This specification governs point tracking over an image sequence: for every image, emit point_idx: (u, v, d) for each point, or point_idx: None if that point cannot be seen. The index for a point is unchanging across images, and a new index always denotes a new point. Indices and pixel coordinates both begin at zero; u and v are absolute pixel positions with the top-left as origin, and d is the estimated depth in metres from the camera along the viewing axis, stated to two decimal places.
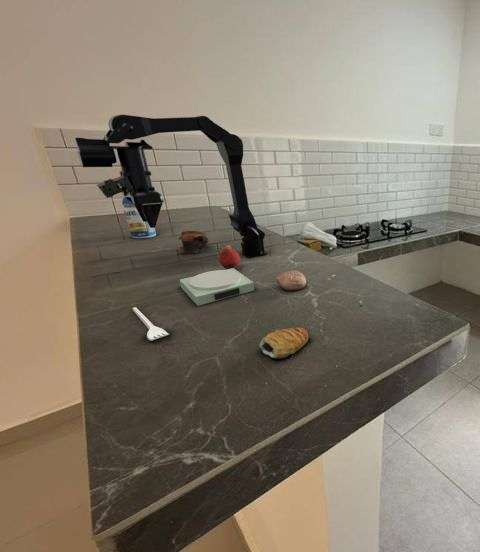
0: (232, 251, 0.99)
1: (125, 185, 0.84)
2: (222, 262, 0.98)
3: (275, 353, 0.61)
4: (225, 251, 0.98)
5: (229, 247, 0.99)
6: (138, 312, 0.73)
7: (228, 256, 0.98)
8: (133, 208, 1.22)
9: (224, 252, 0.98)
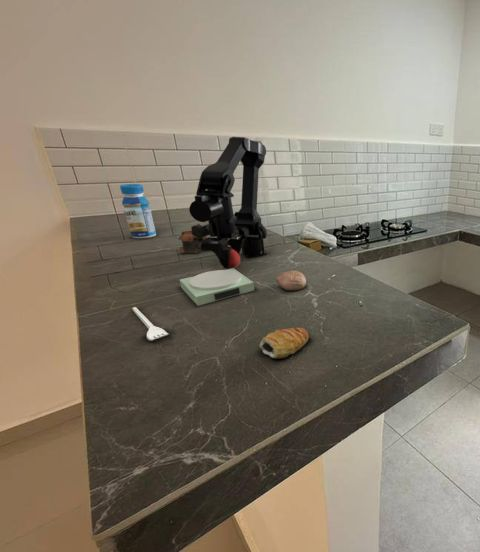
0: (232, 251, 0.99)
1: (209, 230, 0.94)
2: None
3: (275, 353, 0.61)
4: None
5: None
6: (138, 312, 0.73)
7: None
8: (133, 208, 1.22)
9: None
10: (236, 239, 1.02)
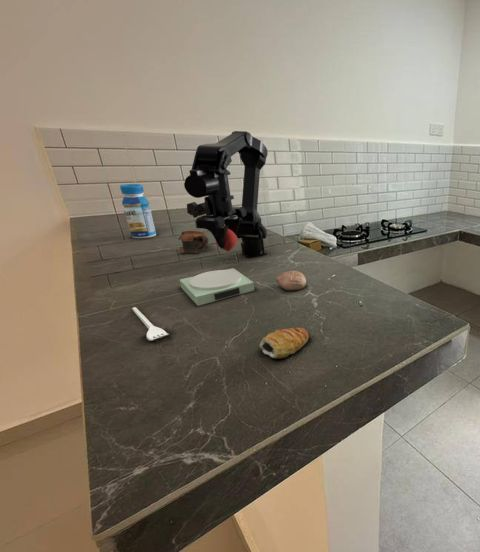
0: (229, 231, 0.96)
1: (204, 208, 0.91)
2: None
3: (275, 353, 0.61)
4: None
5: None
6: (138, 312, 0.73)
7: None
8: (133, 208, 1.22)
9: None
10: (233, 219, 0.99)
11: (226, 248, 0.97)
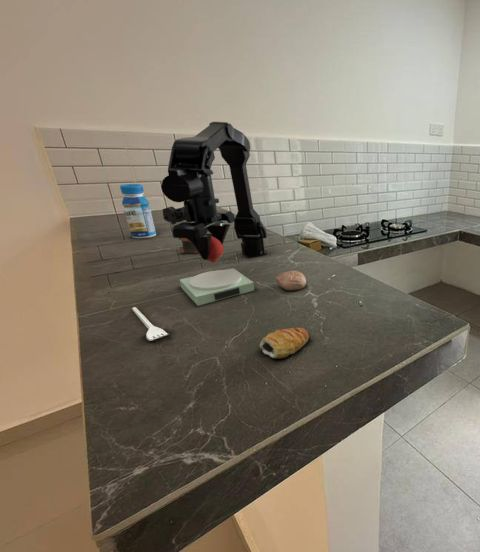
0: (213, 239, 0.83)
1: (184, 214, 0.78)
2: None
3: (275, 353, 0.61)
4: None
5: None
6: (138, 312, 0.73)
7: None
8: (133, 208, 1.22)
9: None
10: (219, 226, 0.86)
11: (210, 259, 0.84)
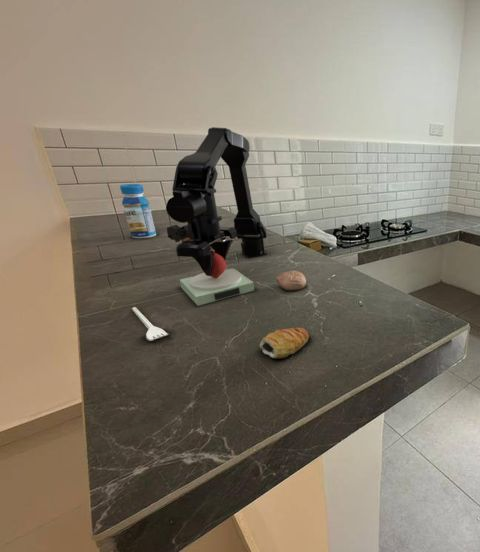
0: (216, 256, 0.85)
1: (188, 232, 0.80)
2: None
3: (275, 353, 0.61)
4: None
5: None
6: (138, 312, 0.73)
7: None
8: (133, 208, 1.22)
9: None
10: (221, 242, 0.88)
11: (213, 275, 0.85)
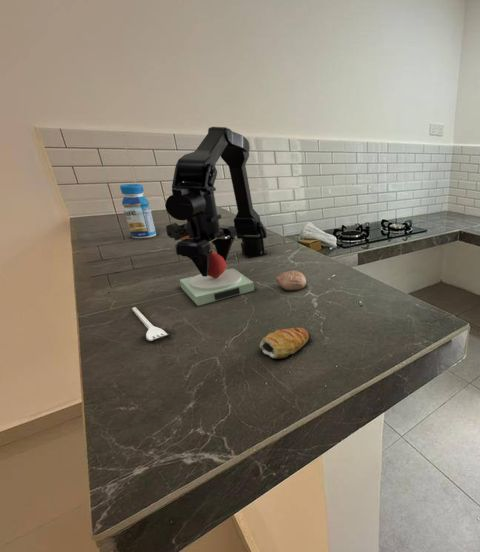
0: (216, 256, 0.85)
1: (187, 230, 0.80)
2: None
3: (275, 353, 0.61)
4: None
5: (213, 251, 0.85)
6: (137, 312, 0.73)
7: (211, 262, 0.83)
8: (133, 208, 1.22)
9: None
10: (224, 239, 0.89)
11: (213, 275, 0.85)
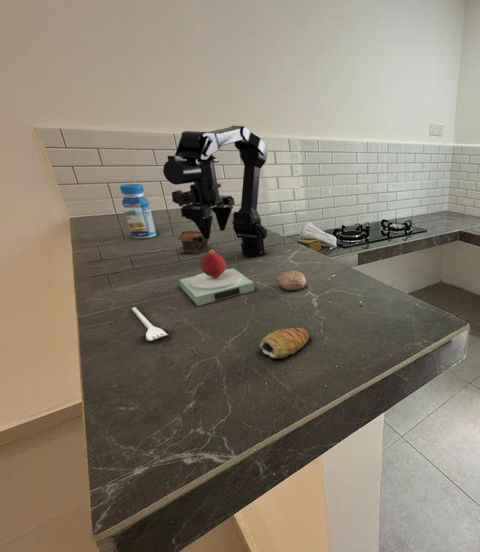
0: (216, 256, 0.85)
1: (190, 197, 0.89)
2: (204, 269, 0.84)
3: (275, 353, 0.61)
4: (208, 256, 0.84)
5: (213, 251, 0.85)
6: (137, 312, 0.73)
7: (211, 262, 0.83)
8: (133, 208, 1.22)
9: (207, 257, 0.84)
10: (223, 207, 0.98)
11: (213, 275, 0.85)
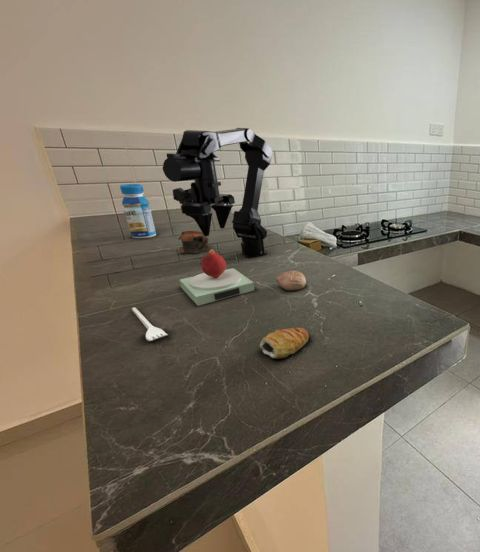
0: (216, 256, 0.85)
1: (191, 194, 0.91)
2: (204, 269, 0.84)
3: (275, 353, 0.61)
4: (208, 256, 0.84)
5: (213, 251, 0.85)
6: (137, 312, 0.73)
7: (211, 262, 0.83)
8: (133, 208, 1.22)
9: (207, 257, 0.84)
10: (223, 206, 1.00)
11: (213, 275, 0.85)
